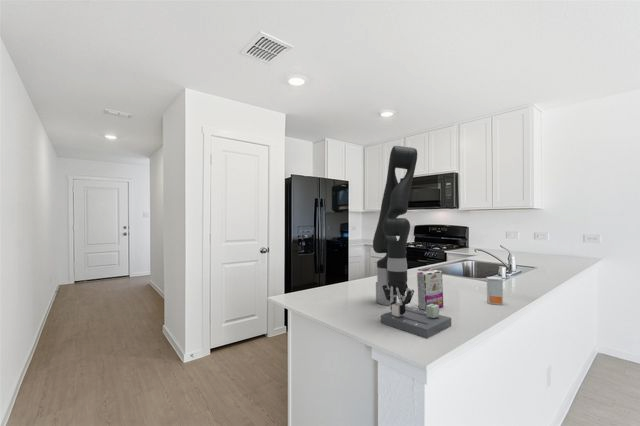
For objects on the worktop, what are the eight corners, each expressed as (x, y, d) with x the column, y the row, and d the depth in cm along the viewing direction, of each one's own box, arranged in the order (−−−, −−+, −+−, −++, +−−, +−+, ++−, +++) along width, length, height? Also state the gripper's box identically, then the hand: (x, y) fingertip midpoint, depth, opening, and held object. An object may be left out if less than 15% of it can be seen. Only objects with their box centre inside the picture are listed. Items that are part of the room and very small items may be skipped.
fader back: (426, 316, 115) (426, 305, 115) (431, 313, 118) (431, 303, 118) (433, 318, 113) (433, 307, 113) (439, 315, 115) (438, 305, 115)
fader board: (380, 322, 119) (380, 315, 119) (406, 313, 130) (406, 306, 130) (427, 338, 103) (426, 329, 103) (451, 325, 114) (451, 317, 114)
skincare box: (488, 304, 140) (487, 278, 140) (487, 301, 144) (486, 276, 144) (503, 305, 137) (502, 279, 138) (501, 302, 141) (501, 277, 141)
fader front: (392, 314, 118) (391, 304, 118) (398, 312, 120) (397, 302, 120) (398, 316, 115) (398, 305, 115) (404, 314, 118) (404, 303, 118)
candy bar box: (435, 304, 141) (434, 269, 141) (443, 307, 137) (442, 271, 137) (417, 308, 136) (416, 271, 136) (426, 311, 132) (425, 273, 132)
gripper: (418, 270, 115) (419, 315, 115) (388, 265, 126) (389, 307, 126) (407, 272, 110) (408, 320, 110) (376, 268, 121) (377, 311, 121)
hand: (398, 312), depth 118 cm, fingers closed on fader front, 3 cm apart
